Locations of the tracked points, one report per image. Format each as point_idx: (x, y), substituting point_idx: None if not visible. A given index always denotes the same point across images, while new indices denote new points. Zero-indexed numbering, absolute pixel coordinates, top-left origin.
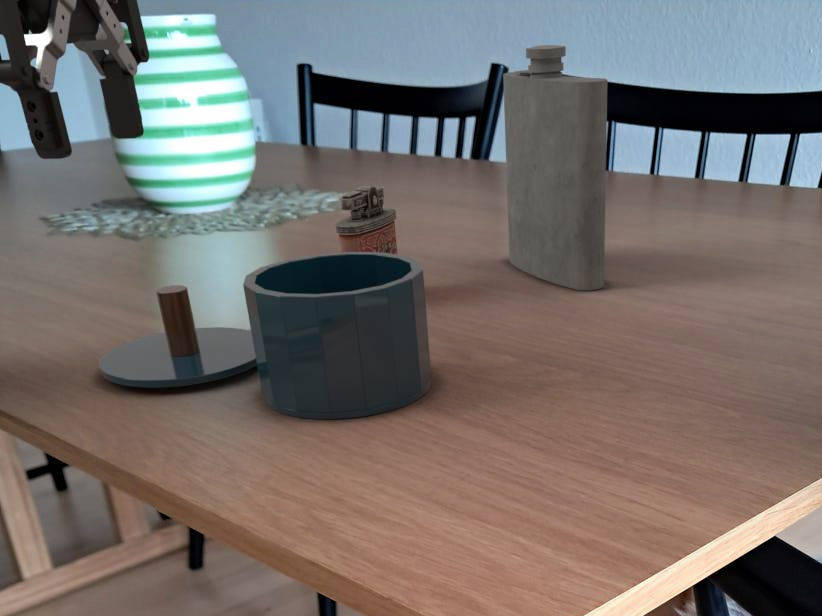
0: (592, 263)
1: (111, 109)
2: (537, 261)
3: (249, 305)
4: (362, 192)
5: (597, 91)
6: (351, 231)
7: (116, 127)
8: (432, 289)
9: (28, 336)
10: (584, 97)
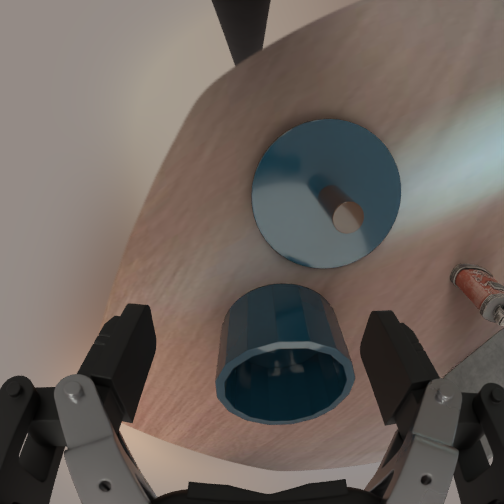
0: None
1: (386, 348)
2: (479, 357)
3: (241, 343)
4: None
5: None
6: (480, 311)
7: (375, 328)
8: None
9: (397, 3)
10: None
